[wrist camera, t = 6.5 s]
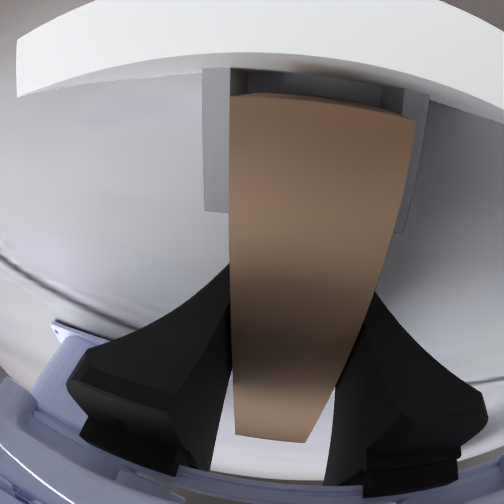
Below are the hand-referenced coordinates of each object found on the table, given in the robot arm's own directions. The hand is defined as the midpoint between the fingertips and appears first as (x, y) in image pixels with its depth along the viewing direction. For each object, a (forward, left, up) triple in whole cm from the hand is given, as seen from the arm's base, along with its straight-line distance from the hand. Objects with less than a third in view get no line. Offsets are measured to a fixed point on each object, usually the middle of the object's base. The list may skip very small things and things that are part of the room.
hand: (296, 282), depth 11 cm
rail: (0, 0, -2) cm, 2 cm away
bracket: (+5, 0, -3) cm, 6 cm away
